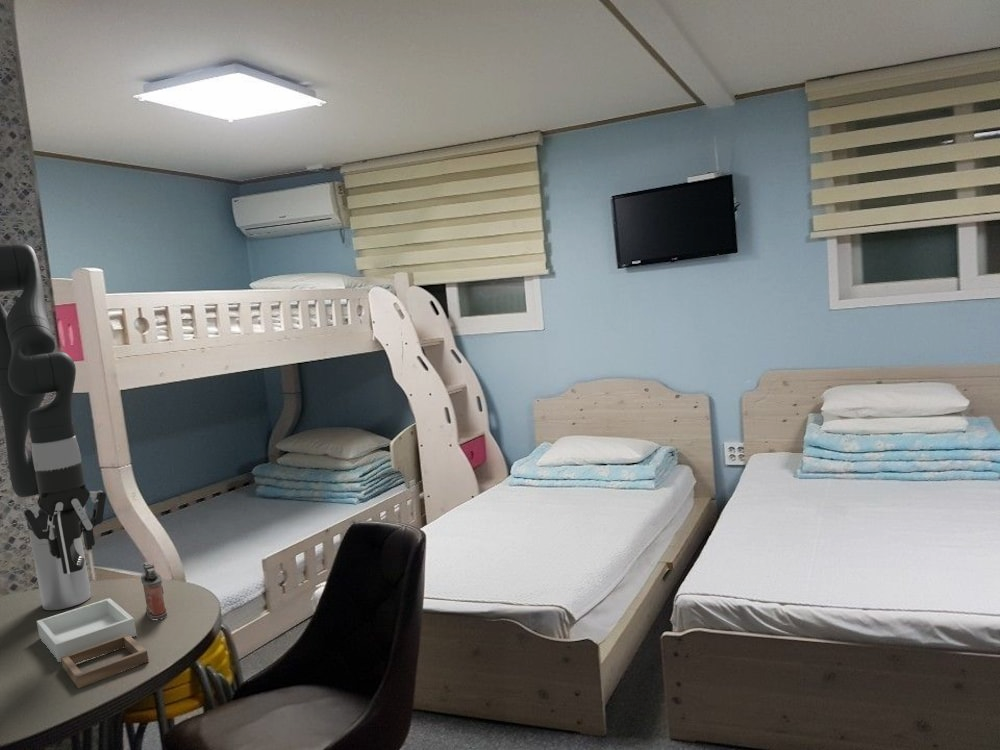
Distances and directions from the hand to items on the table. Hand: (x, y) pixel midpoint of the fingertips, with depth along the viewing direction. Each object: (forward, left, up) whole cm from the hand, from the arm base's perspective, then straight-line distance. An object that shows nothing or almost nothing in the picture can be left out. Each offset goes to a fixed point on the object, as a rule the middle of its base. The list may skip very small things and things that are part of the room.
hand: (73, 552), depth 148 cm
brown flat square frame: (+15, -1, -17) cm, 23 cm away
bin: (-1, 0, -17) cm, 17 cm away
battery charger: (0, 0, -3) cm, 3 cm away
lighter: (-1, +13, -17) cm, 21 cm away
